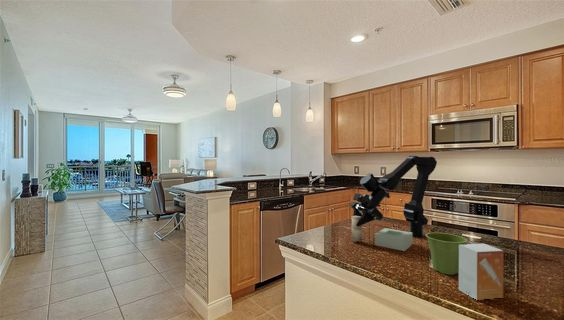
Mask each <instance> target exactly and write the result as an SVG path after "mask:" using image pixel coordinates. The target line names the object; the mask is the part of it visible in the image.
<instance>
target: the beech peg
mask: <svg viewBox="0 0 564 320" xmlns="http://www.w3.org/2000/svg"><path fill="white" fill-rule="evenodd" d="M350 218H351V219H352V224H351V240H353V241H357V242H360V241H362V240H363V225H361V226H359V227H357V226H356V224H357V223H358V221H359V220H360V218H361V216H353V215H351V217H350Z"/></svg>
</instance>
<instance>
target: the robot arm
mask: <svg viewBox="0 0 564 320" xmlns="http://www.w3.org/2000/svg"><path fill="white" fill-rule="evenodd" d="M437 162H438V161H437V160H436V157H434V156H418V155H409V156H407V157H406V159H404V160H403V161H402V162H401V163H400V164H399V165H398V166H397V167H395V168H394V170H393V171H391V172H390V173H387V174H384V175H383V176H381V177H380V178H379V179H377V178H376V177H375V175H374V174H373V173H368V174H366V175H365V176H363V177H362V178H361V179H360V181H359V183H360V185H361V186H362V187H363V188H364V190H365V191H367V192H368V193H370V194H368V193H363V194H360V193H357V192H354V196H353V198H352V200H354V201H351V202H350V203H349V206H350V208H351V209H353V214H352V216H361V218H360V220H359V221H358V223H357V224H356V226H357V227H359V226H361V225H362V226H363V225H364V224H367V223H369V222H373V221H375V220H377V221H379V222H381V221H382V220H383V218H384V214H383V213H382V212H381V211H380V210H379V209H378V208H380V207H381V202H382V201H383V200H384V199H390V198H391V196H390V192H389V191H394V190H396V188H397V187H398V185H399V184H400V180H401V179H402V178H403V177H404V176H405V175H406V174H407V173H408V172H409V171H411V169H413V168H414V167H416V170H417V176H416V180H415V183H414V187H413V191H412V195H411V198H410V201H409V202H405V203H404V207H403V209H402V211H403V213H402V214H403V216H404V218H405V221H406V222H408V223H409V232H412V233H413V237H415V238H424V237H426V233H424V226H427V225H428V223H429V219H428V218H427V217H426V216H425V215H424V212H425V211H424V210H425V209H424V207H423V206H424V205H423V201H424V197H425V193H426V189H427V185H428V182H429V177H430V175H431V174H433V172H434V171H435V169H436V168H437ZM386 190H388V191H386ZM356 201H357V202H356ZM350 224H351V225H352V219H351V220H350Z"/></svg>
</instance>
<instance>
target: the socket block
mask: <svg viewBox="0 0 564 320" xmlns="http://www.w3.org/2000/svg"><path fill="white" fill-rule="evenodd" d="M413 237H414V236H413V233H412V232H410V231H405V230H398V229H394V228H387V227H384V228H383V229H381V230H379V231H377V232H376V233H374V246H377V247H383V248H388V249H392V250H398V251H400V252H401V251H403V252H406V251H407V249H409V248H410V247H411V246H412V245H413V243H414V241H413Z"/></svg>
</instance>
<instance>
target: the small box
mask: <svg viewBox="0 0 564 320" xmlns="http://www.w3.org/2000/svg"><path fill="white" fill-rule="evenodd" d="M458 290H459V291H460V292H462V293H463V294H465V295H467V296H468V295H469V298H472V299H473V298H474V299H473V300H475V299H476V300H475V301H477V300H479V301H485V300H484V299H490V300H495V299H494V298H503V299H504V250H503V249H500V248H497V247H494V246H492V245H489V244H486V243H468V244H466V243H465V245H459V272H458Z"/></svg>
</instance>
